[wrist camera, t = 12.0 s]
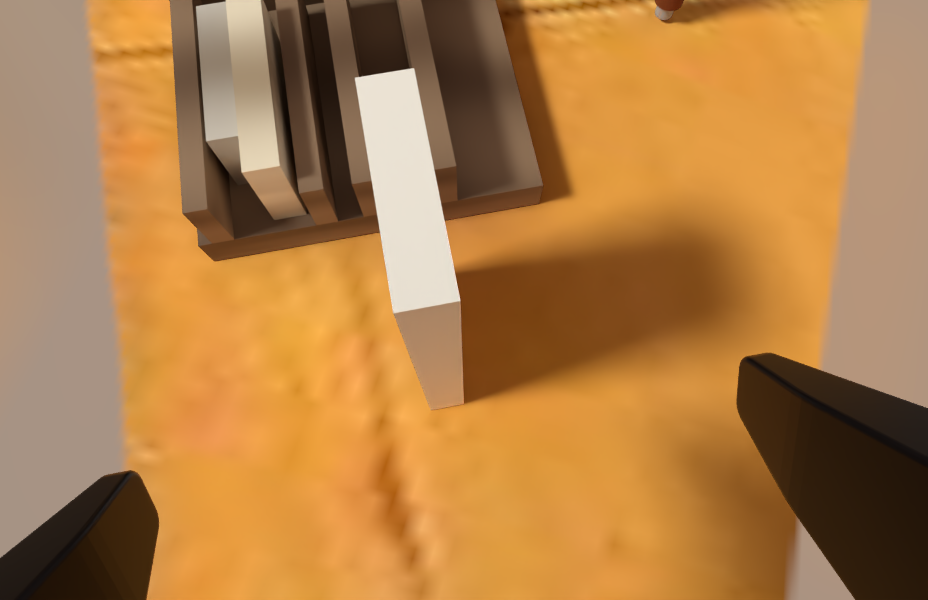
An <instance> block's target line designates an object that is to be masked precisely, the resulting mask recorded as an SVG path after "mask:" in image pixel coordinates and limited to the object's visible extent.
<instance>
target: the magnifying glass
mask: <svg viewBox="0 0 928 600" xmlns="http://www.w3.org/2000/svg"><path fill="white" fill-rule="evenodd" d="M683 1H684V0H655V3H656V5H657V7H656V10H655V15H656V16H657V17H658V18H659V19H661V20H667V19H669V18H671V16H672V14H673V11H675V10H677V9H679V8H680V7H681V6H682V4H683Z"/></svg>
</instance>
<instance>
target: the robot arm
mask: <svg viewBox="0 0 928 600" xmlns="http://www.w3.org/2000/svg"><path fill="white" fill-rule="evenodd" d="M737 409H738V413H739V415H740V418H741V420H742V421H743V423H744V425H745V427H746V429H747V431H748V432H749V434H750V436H751V438H752V440H753V441H754V443H755V445H756V447H757V449H758V451H759V452H760V454H761V456H762V458H763V460H764V462H765V463H766V465H767V467H768V469H769V471H770V472H771V474H772V476H773V478H774V480H775V482H776V483H777V485H778V487H779V489H780V490H781V492H782V494H783V496H784V497H785V499H786V501H787V502H788V504H789V505H790V507H791V508H792V510H793V511H794V513H795V514H796V516H797V517H798V519H799V520H800V521H801V523H802V524H803V526H804V527H805V529H806V530H807V531H808V533H809V534H810V536H811V537H812V538H813V540H814V541H815V543H816V544H817V546H818V547H819V549H820V550H821V551H822V553H823V554H824V556H825V557H826V559H827V560H828V561H829V563H830V564H831V566H832V567H833V568H834V570H835V571H836V573H837V574H838V576H839V577H840V578H841V580H842V581H843V583H844V584H845V586H846V587H847V589H848V590H849V592H850V593H851V594H852V596H853V597H854V599H855V600H928V408H926V407H923V406H920V405H917V404H914V403H911V402H909V401H906V400H903V399H900V398H897V397H895V396H892V395H889V394H886V393H883V392H880V391H878V390H875V389H872V388H868V387H866V386H863V385H860V384H858V383H855V382H852V381H849V380H847V379H844V378H841V377H838V376H835V375H832V374H830V373H827V372H824V371H821V370H818V369H816V368H813V367H810V366H807V365H804V364H801V363H799V362H796V361H793V360H790V359H787V358H784V357H782V356H779V355H776V354H773V353H762V354H757V355H751V356H746V357H745V358H743V359H742V360H741V362H740V366H739V376H738V388H737ZM158 529H159V518H158V513H157V510H156V508H155V506H154V504H153V502H152V499H151V497H150V495H149V493H148V491H147V489H146V487H145V485H144V483H143V481H142V479H141V477H140V475H139V474H138V473H137V472H135V471H132V470H129V471H124V472H118V473H113V474H108V475H105V476H103V477H101V478H100V479H99V480H97V481H96V482H95V483H94V484H92V485H91V486H90V487H89V488H87V489H86V490H85V491H83V492H82V493H81V494H80V495H78V496H77V497H76V498H75V499H74V500H72V501H71V502H70V503H68V504H67V505H66V506H65V507H64V508H62V509H61V510H60V511H58V512H57V513H56V514H55V515H53V516H52V517H51V518H50V519H49V520H47V521H46V522H45V523H43V524H42V525H41V526H40V527H38V528H37V529H36V530H35V531H33V533H31V534H30V535H29V536H27V537H26V538H25V539H23V540H22V541H21V542H20V543H19V544H17V545H16V546H15V547H13V548H12V549H11V550H10V551H8V552H7V553H6V554H5V555H3V557H1V558H0V600H146V599H147V593H148V587H149V582H150V576H151V570H152V564H153V558H154V553H155V547H156V541H157V535H158Z"/></svg>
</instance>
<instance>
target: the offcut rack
mask: <svg viewBox="0 0 928 600" xmlns="http://www.w3.org/2000/svg"><path fill="white" fill-rule="evenodd" d="M169 1H170V10H171V27H172V44H173V61H174V78H175V95H176V111H177V128H178V145H179V162H180V179H181V196H182V212H183V214H184V215H185V216H186V217H187V218H188V219H189V220H190V222H191V223H192V224H193V225H194V226H195V227H196V228H197V232H198V246H199V247H200V248H201V249H202V250H203V251H204V252H205V253H206V254H207V255H208V256H209V257H210V258H211V259H212V260H213V261H218V260H224V259H230V258H235V257H241V256H247V255H252V254H258V253H264V252H269V251H275V250H280V249H286V248H292V247H297V246H303V245H309V244H314V243H320V242H326V241H331V240H337V239H342V238H348V237H354V236H359V235H365V234H371V233H376V232H380V229H379V222H378V216H377V210H376V204H375V198H374V192H373V186H372V180H371V174H370V168H369V162H368V155H367V149H366V143H365V137H364V131H363V125H362V119H361V113H360V107H359V101H358V94H357V88H356V82H355V78H356V77H362V76H369V75H375V74H381V73H387V72H393V71H399V70H405V69H411V68H414V70H415V75H416V80H417V85H418V90H419V95H420V100H421V105H422V110H423V115H424V120H425V125H426V130H427V135H428V140H429V145H430V150H431V155H432V160H433V165H434V171H435V176H436V181H437V186H438V191H439V196H440V201H441V206H442V211H443V216H444V220H450V219H455V218H461V217H467V216H472V215H478V214H483V213H489V212H495V211H500V210H506V209H512V208H517V207H523V206H529V205H534V204H539V201H540V197H541V193H542V189H543V183H542V179H541V175H540V171H539V167H538V163H537V159H536V155H535V151H534V148H533V144H532V140H531V136H530V132H529V128H528V124H527V120H526V117H525V113H524V109H523V105H522V101H521V97H520V93H519V89H518V85H517V82H516V78H515V74H514V70H513V66H512V62H511V58H510V54H509V50H508V47H507V43H506V39H505V35H504V31H503V27H502V23H501V19H500V15H499V12H498V8H497V4H496V0H169Z"/></svg>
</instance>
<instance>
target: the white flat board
mask: <svg viewBox="0 0 928 600" xmlns="http://www.w3.org/2000/svg"><path fill="white" fill-rule="evenodd" d="M355 82H356V88H357V94H358V101H359V107H360V113H361V119H362V125H363V131H364V137H365V143H366V149H367V155H368V162H369V168H370V174H371V180H372V186H373V192H374V198H375V204H376V210H377V216H378V222H379V229H380V235H381V241H382V247H383V253H384V259H385V265H386V271H387V277H388V283H389V290H390V296H391V302H392V308H393V314H394V316H395V319H396V321H397V324H398V327H399V329H400V332H401V334H402V337H403V339H404V342H405V345H406V347H407V350H408V352H409V355H410V358H411V360H412V363H413V365H414V368H415V371H416V373H417V376H418V378H419V381H420V384H421V386H422V389H423V391H424V394H425V396H426V399H427V402H428V404H429V407H430V409H431V410H435V409H440V408H446V407H451V406H456V405H461V404H464V391H463V361H462V330H461V301H460V296H459V291H458V286H457V281H456V276H455V271H454V266H453V261H452V256H451V251H450V246H449V241H448V236H447V231H446V226H445V221H444V216H443V211H442V206H441V201H440V196H439V191H438V186H437V181H436V176H435V171H434V165H433V160H432V155H431V150H430V145H429V140H428V135H427V130H426V125H425V120H424V115H423V110H422V105H421V100H420V95H419V90H418V85H417V80H416V75H415V70H414V68H411V69H405V70H399V71H393V72H387V73H381V74H375V75H369V76H362V77H356V78H355Z"/></svg>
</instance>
